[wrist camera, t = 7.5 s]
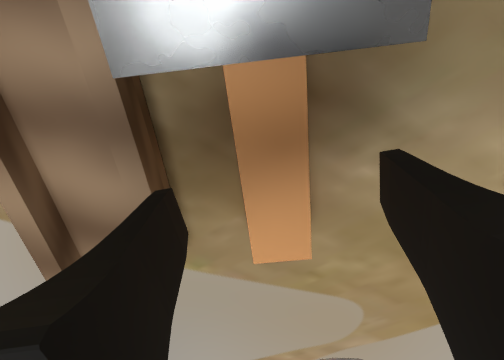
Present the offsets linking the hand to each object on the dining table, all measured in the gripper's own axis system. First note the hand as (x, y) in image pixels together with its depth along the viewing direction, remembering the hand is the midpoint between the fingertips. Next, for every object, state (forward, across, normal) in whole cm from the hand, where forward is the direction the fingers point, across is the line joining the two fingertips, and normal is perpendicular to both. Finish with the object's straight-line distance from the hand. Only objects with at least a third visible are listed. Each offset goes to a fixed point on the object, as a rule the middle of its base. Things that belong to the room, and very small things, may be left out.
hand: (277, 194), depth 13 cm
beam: (+7, 0, -6) cm, 9 cm away
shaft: (+7, 0, -1) cm, 7 cm away
